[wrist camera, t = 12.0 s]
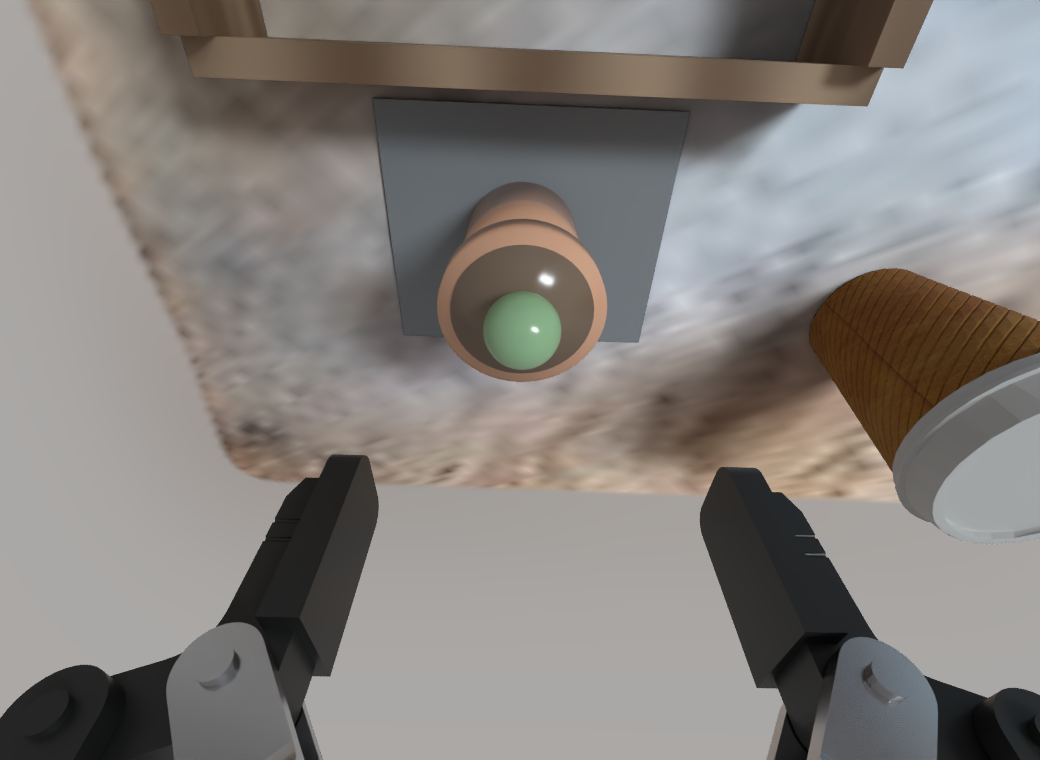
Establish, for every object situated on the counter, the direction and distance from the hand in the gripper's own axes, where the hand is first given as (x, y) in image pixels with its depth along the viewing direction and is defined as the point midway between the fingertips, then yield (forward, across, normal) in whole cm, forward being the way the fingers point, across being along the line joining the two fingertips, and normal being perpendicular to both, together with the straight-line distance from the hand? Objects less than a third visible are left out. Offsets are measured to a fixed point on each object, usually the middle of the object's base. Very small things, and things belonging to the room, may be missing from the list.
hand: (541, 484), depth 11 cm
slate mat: (+17, 0, 0) cm, 17 cm away
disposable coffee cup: (+17, -20, +4) cm, 26 cm away
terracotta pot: (+16, 0, 0) cm, 16 cm away
